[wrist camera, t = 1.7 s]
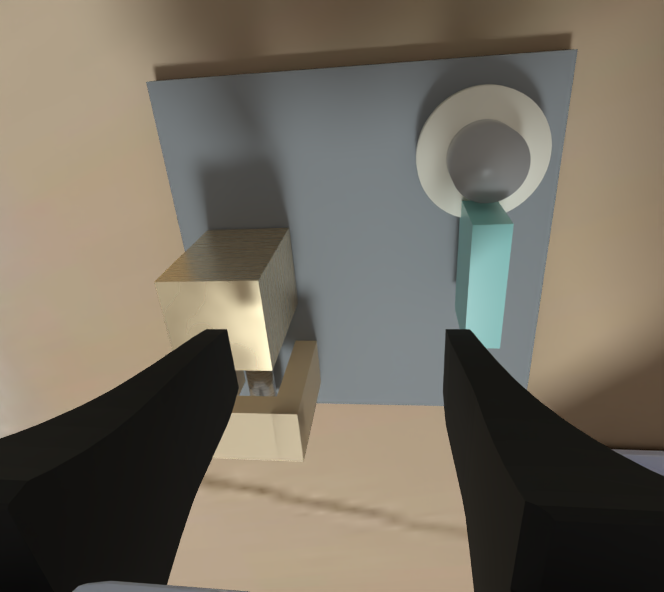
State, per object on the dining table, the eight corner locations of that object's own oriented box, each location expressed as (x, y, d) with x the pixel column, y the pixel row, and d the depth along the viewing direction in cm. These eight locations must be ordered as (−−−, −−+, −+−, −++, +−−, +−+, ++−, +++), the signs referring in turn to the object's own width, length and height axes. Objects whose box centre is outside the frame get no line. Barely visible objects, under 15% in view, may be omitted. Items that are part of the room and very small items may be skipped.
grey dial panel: (520, 396, 23) (556, 496, 18) (224, 391, 25) (180, 479, 20) (569, 49, 16) (651, 49, 11) (155, 80, 18) (62, 93, 13)
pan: (525, 303, 19) (548, 348, 16) (414, 304, 19) (417, 348, 17) (555, 79, 15) (592, 86, 12) (416, 88, 16) (421, 97, 13)
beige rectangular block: (309, 404, 24) (290, 486, 19) (242, 402, 24) (208, 482, 20) (289, 227, 19) (258, 280, 15) (207, 230, 20) (154, 281, 15)
